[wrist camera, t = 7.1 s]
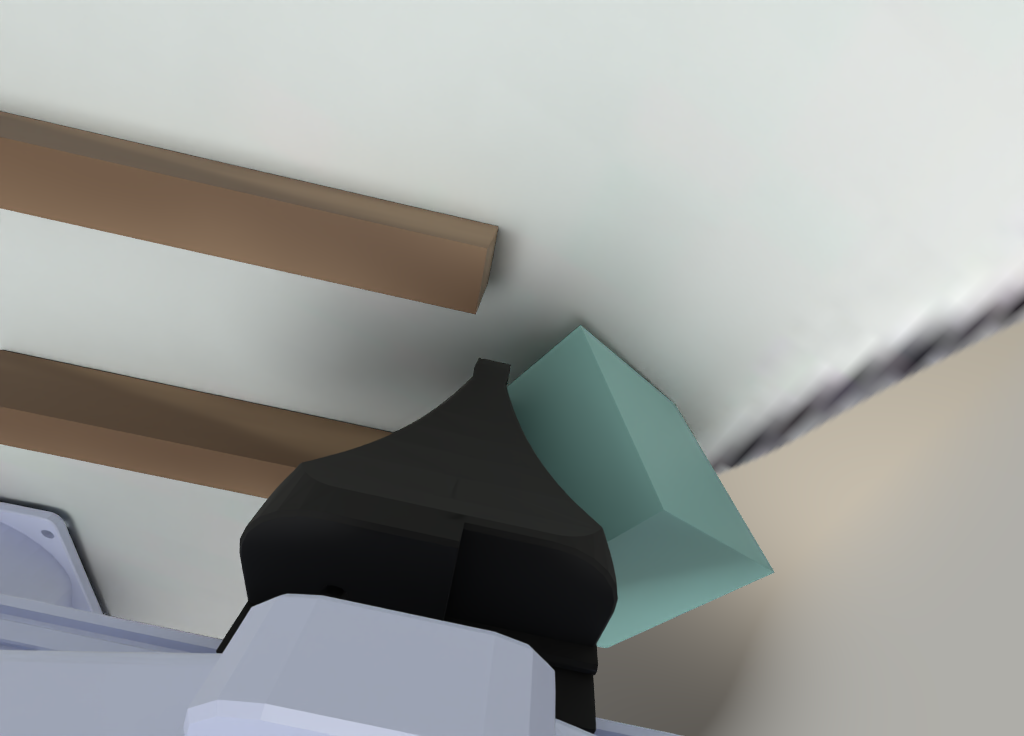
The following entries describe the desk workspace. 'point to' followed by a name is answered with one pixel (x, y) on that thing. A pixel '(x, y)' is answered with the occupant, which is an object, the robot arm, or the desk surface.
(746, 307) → the desk surface
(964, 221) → the desk surface
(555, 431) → the block
